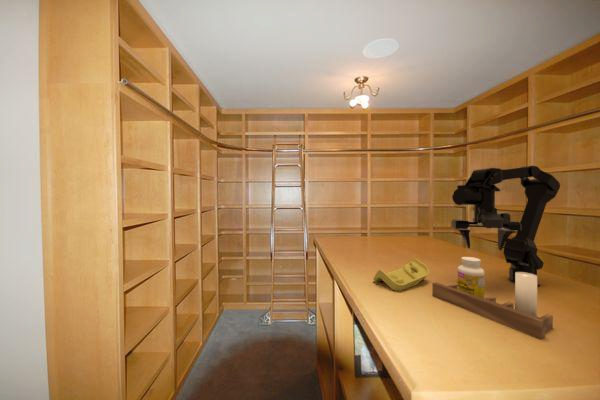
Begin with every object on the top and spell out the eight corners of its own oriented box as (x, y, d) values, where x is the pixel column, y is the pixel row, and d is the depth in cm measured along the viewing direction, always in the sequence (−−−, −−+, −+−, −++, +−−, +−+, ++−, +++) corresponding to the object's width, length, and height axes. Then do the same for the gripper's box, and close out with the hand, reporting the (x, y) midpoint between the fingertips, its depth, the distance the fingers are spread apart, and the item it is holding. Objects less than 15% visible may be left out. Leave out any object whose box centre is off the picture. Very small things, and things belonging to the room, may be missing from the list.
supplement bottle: (452, 298, 73) (452, 257, 73) (466, 294, 76) (466, 255, 75) (474, 307, 67) (475, 262, 67) (489, 303, 69) (490, 260, 69)
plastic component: (398, 286, 77) (376, 266, 84) (391, 302, 80) (371, 281, 88) (435, 272, 86) (412, 255, 94) (427, 287, 89) (406, 269, 97)
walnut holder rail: (448, 290, 79) (449, 278, 79) (557, 329, 56) (557, 312, 56) (432, 295, 75) (432, 283, 75) (541, 339, 52) (541, 321, 52)
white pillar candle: (519, 316, 62) (519, 271, 62) (540, 323, 58) (540, 275, 58) (511, 319, 60) (512, 273, 60) (532, 327, 57) (532, 278, 56)
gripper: (461, 205, 77) (460, 252, 78) (532, 205, 71) (531, 256, 72) (450, 204, 88) (450, 245, 88) (512, 204, 82) (512, 249, 82)
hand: (484, 249), depth 82 cm, fingers open, 9 cm apart
